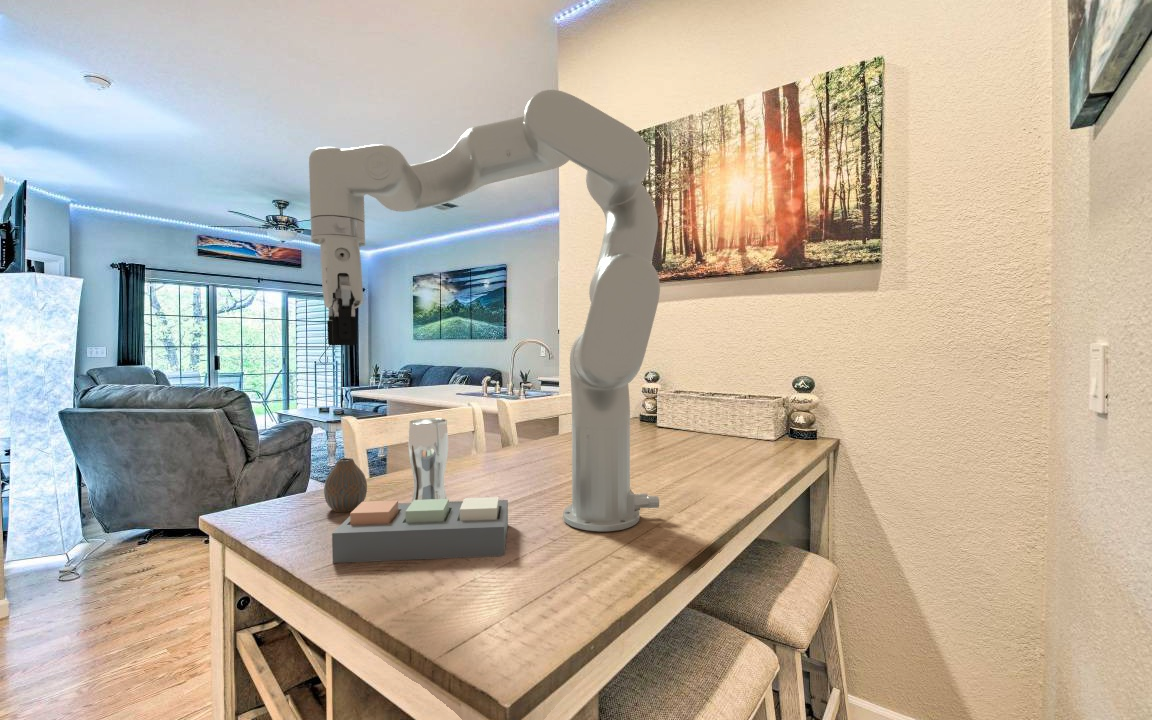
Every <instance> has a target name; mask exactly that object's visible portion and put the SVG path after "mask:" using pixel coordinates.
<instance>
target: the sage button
mask: <svg viewBox="0 0 1152 720" xmlns="http://www.w3.org/2000/svg"><path fill="white" fill-rule="evenodd" d="M449 502H450V498H447V499H427V500H413V502H412V501H411V502H410V503H411V504H410V506H409V507H408V509H407V510H406V511H405V513H406V523H414V522H442V521H446V520H447V518H448V515H449Z"/></svg>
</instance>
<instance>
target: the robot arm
mask: <svg viewBox="0 0 1152 720" xmlns="http://www.w3.org/2000/svg"><path fill="white" fill-rule="evenodd" d="M523 113H524V114H523V115H522V116H517V117H515V118H510V119H505V120H500V121H495V122H492V123H487V124H482V125H477V126H473V127H470V128H468V129H467V130H466V131H465V132H464V133H463V134H462V135H461V136H460V138H459V139H458V140H457V142H456V143H455V144H454V145H453V147H452V148H450V149H449V150H448V151H447V152H446V153H445V154H442V155H441V156H438V157H436V158H434V159H431V160H428V161H423V162H419V163H414V164H410V163H409V162H408V161H407V159H406V157H405V156H404V155H403V153H402V152H401V151H399V150H398V149H397V148H395V147H394V146H392V145H387V144H381V143H377V144H369V145H364V146H359V147H357V146H356V147H350V148H341V147H335V146H323V147H317V148H315V149H313V150H312V151H311V153H310V154H309V157H308V169H309V171H308V172H309V173H308V174H309V177H308V178H309V200H310V201H309V203H310V204H309V205H310V206H309V209H310V211H309V212H310V233H311V234H310V236H311V239H310V241H311V243H313V244H315V245H319V246H320V247H319V248H320V268H321V273H320V274H321V284H322V294H323V295H322V296H323V302H324V306H325V308H327V309H328V314H327V315H328V320H327V326H326V327H327V344H328V346H356V345H357V344H358V331H357V330H358V329H357V325H358V324H357V317H356V309H357V308H360V307H361V306H362V305H363V304H364V291H363V289H364V288H363V276H362V275H363V274H362V273H363V272H362V262H361V261H362V260H361V251H360V248H361V247H365V246H366V225H365V223H366V221H365V219H366V218H365V216H366V215H365V196H367V195H368V196H370V197H372V198H375V199H376V200H377V201H378V202H379V203H380V204H381V205H382V206H384V207H385V208H386V209H388V210H390V211H395V212H402V213H404V212H412V211H417V210H422V209H426V208H430V207H435V206H439V205H443V204H446V203H449V202H452V201H454V200H457V199H458V198H460V197H463V196H465V195H468V194H469V193H472V192H475V191H476V190H478V189H480V188H481V187H484V186H487V185H489V184H495V183H499V182H502V181H503V182H504V181H506V180H507V181H508V180H511V179H516V178H519V177H524V176H528V175H534V174H538V173H542V172H548V171H551V170H554V169H557V168H561V167H563V166H565V165H566V164H567V163H568V162H569V161H570V162H571V163H574V164H575V165H577V166H578V167H580V168H583V169H584V170H586V174H585V175H586V176H585V183H586V188H587V190H588V193H589V195H590V196H591V198H592V199H593V200H594V202H595V203H596V204H597V205H598V206H599V207H600V209H601V210H602V212H603V214H604V218H605V228H604V233H603V238H602V244H601V248H600V252H599V255H598V257H597V258H598V259H597V262H596V267H595V270H594V273H593V275H592V279H591V280H590V284H589V291H588V293H589V294H588V295H589V301H590V307H589V311H588V313H587V318H586V322H585V326H584V328H583V329H584V330H583V332H582V333H580V334H579V335H578V336H577V337H576V339H575V340H574V342H573V344H572V347H571V350H570V353H569V354H570V355H569V373H570V374H569V375H570V387H571V388H570V390H571V392H570V393H571V483H572V484H571V492H572V493H571V504H570V505H567V506H566V507H565V508H564V509H563V511H562V520H563V521H564V523H565V524H567V525H569V526H570V527H572V528H575V529H578V530H582V531H589V532H597V533H598V532H599V533H600V532H604V533H605V532H615V531H622V530H627V529H629V528H631V527H633V526H635V525H637V524H638V522H639V521H640V511H641V509H643V508H644V509H646V508H648V509H659V508H660V498H659V496H658V495H648V493H636V494H635V493H634V492H633V491H632V489H631V460H630V459H631V457H630V456H631V443H630V442H631V427H630V426H631V404H630V403H631V402H630V390H629V384H630V383H631V382H632V381H633V380H634V379H636V378H635V377H637V375H638V374H639V372H640V370H641V367H642V364H643V362H644V360H645V359H644V358H645V355H646V351H647V347H648V344H649V341H650V336H651V334H652V329H653V324H654V321H655V317H656V313H657V309H658V305H659V300H660V293H661V285H660V278H659V275H658V272H657V270H656V268H655V266H654V265H653V264H652V260H653V256H654V252H655V247H656V242H657V236H658V230H659V229H658V228H659V220H658V219H659V218H658V213H657V208H656V206H655V204H654V201H653V200H652V198H651V196H650V194H649V192H648V191H647V189H646V188H645V187H644V185H643V184H642V182H643V181H644V180H645V177H646V176H647V174H648V171H649V170H650V169H649V168H650V164H651V154H650V149H649V147H648V145H647V143H646V142H645V140H644V138H643V137H642V136H641V135H640V134H639V133H637V131H636V130H634V129H633V128H631V127H629V126H628V125H626V124H625V123H623V122H622V121H619V120H618V119H615V118H614V117H613V116H612V115H609V114H608V113H606V112H604V111H602V110H600V109H599V108H597V107H595V106H594V105H591V104H590V103H588V102H586V101H584V100H583V99H581V98H579V97H577V96H574V95H572V94H570V93H568V92H565V91H563V90H558V89H544V90H541V91H538V92H536V94H534V95H533V96H532V97H531V98H530V99H529V100H528V102H527V104H526V106H525V109H524V112H523Z"/></svg>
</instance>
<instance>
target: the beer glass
mask: <svg viewBox="0 0 1152 720" xmlns="http://www.w3.org/2000/svg"><path fill="white" fill-rule="evenodd" d="M408 427H409V428H408V455H409V461H410V467H411V471H412V472H411V473H412V477H413V492H412V499H411V503H412V502H413V500H427V499H448V498H447V494H446V488H445V476H446V475H445V474H446V468H447V461H448V454H449V433H448V424H447V419H446V418H439V417H437V418H436V417H435V418H434V417H433V418H431V417H430V418H417V419H413V420H410V421H409V425H408Z"/></svg>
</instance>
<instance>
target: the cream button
mask: <svg viewBox="0 0 1152 720" xmlns="http://www.w3.org/2000/svg"><path fill="white" fill-rule="evenodd" d="M499 500H500V497H499V496H494V497H493V496H492V497H466V498H463V503H462V505H461V507H460V521H469V520H497V519H499Z"/></svg>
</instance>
